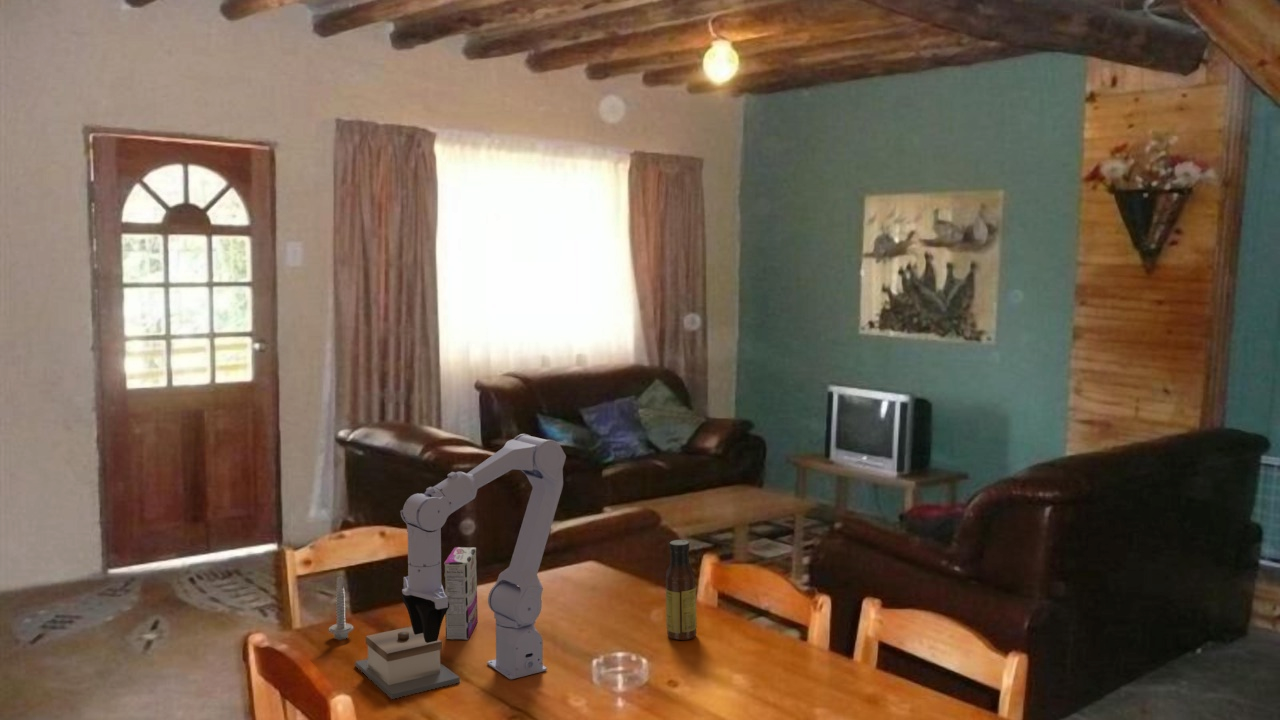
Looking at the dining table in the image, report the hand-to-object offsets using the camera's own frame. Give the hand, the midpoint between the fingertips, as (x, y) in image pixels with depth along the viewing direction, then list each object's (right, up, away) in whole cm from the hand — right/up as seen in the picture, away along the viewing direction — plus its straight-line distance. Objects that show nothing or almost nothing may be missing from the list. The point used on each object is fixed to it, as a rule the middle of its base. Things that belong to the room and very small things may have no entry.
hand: (425, 637), depth 187 cm
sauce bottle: (+46, -8, +30) cm, 56 cm away
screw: (-23, -8, +28) cm, 37 cm away
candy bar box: (+1, -7, +32) cm, 33 cm away
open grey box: (-6, -10, +9) cm, 14 cm away
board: (-5, -9, +9) cm, 14 cm away
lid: (-6, -4, +9) cm, 11 cm away
